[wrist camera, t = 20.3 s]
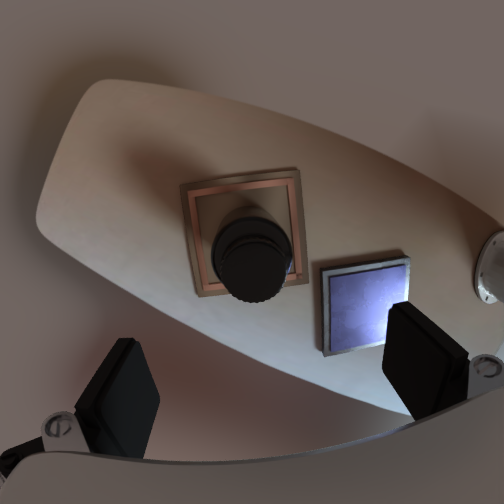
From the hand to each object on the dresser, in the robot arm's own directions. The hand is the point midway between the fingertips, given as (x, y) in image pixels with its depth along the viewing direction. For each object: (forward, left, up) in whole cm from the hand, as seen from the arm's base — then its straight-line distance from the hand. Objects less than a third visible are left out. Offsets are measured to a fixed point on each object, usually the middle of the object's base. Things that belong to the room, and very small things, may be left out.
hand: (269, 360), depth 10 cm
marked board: (0, 0, -23) cm, 23 cm away
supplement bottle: (0, 0, -23) cm, 23 cm away
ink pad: (-14, +11, -23) cm, 29 cm away
